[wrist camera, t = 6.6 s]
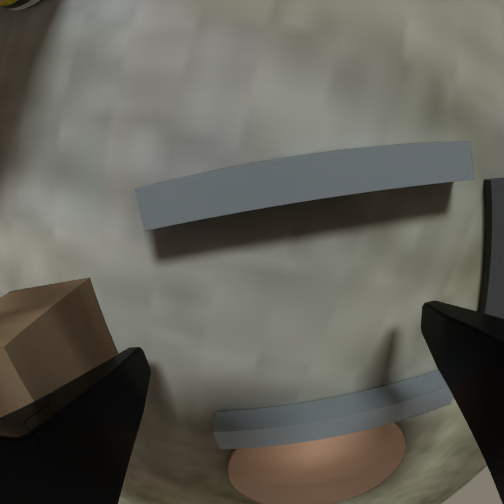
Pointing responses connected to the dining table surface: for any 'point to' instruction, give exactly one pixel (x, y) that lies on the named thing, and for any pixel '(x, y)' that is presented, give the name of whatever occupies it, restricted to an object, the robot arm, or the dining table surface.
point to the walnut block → (49, 340)
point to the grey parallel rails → (298, 190)
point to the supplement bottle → (17, 4)
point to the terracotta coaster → (318, 467)
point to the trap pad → (494, 250)
